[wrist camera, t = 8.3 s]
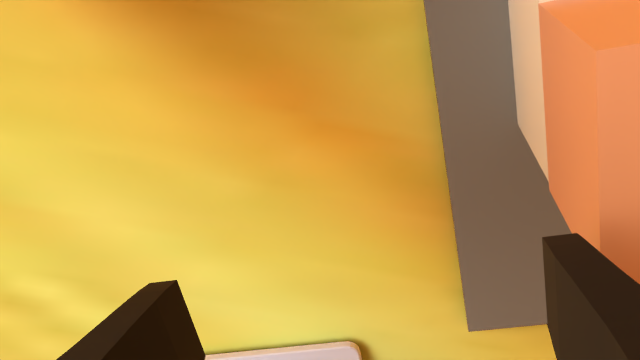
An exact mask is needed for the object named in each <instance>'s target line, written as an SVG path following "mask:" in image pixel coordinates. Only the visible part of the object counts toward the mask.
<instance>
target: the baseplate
mask: <svg viewBox="0 0 640 360" xmlns="http://www.w3.org/2000/svg"><path fill="white" fill-rule="evenodd" d="M424 7H425V14H426V22H427V29H428V36H429V44H430V51H431V59H432V66H433V73H434V81H435V88H436V96H437V103H438V110H439V118H440V125H441V132H442V140H443V147H444V155H445V162H446V169H447V177H448V184H449V192H450V199H451V206H452V214H453V221H454V229H455V236H456V243H457V251H458V258H459V266H460V273H461V280H462V288H463V295H464V303H465V310H466V317H467V325H468V330H469V332H470V331H481V330H491V329H501V328H511V327H521V326H532V325H542V324H547V309H546V293H545V277H544V261H543V246H542V237H547V236H555V235H564V234H572V233H571V231H570V229H569V227H568V225H567V223H566V221H565V219H564V217H563V215H562V214H561V212H560V210H559V208H558V206H557V204H556V202H555V200H554V198H553V196H552V194H551V192H550V190H549V182H548V180H547V178H546V176H545V174H544V172H543V171H542V169H541V167H540V165H539V163H538V161H537V159H536V157H535V156H534V154H533V152H532V150H531V148H530V146H529V144H528V142H527V140H526V139H525V137H524V135H523V133H522V131H521V129H520V127H519V125H518V120H517V108H516V95H515V83H514V70H513V57H512V45H511V32H510V19H509V7H508V0H424Z"/></svg>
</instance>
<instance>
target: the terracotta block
mask: <svg viewBox="0 0 640 360" xmlns="http://www.w3.org/2000/svg"><path fill="white" fill-rule="evenodd" d="M538 9H539V25H540V42H541V59H542V76H543V93H544V110H545V127H546V144H547V161H548V178H549V190H550V192H551V194H552V196H553V198H554V200H555V202H556V204H557V206H558V208H559V210H560V212H561V214H562V215H563V217H564V219H565V221H566V223H567V225H568V227H569V229H570V231H571V233H578V234H579V235H580V236H582V237H583V238H584V239H585V240H587V241H588V242H589V243H590V244H591V245H592V246H594V247H595V248H596V249H597V250H598V251H600V252H601V253H602V254H603V255H604V256H605V257H607V258H608V259H609V260H610V261H611V262H613V263H614V264H615V265H616V266H617V267H619V268H620V269H621V270H622V271H624V272H625V273H626V274H627V275H629V276H630V277H631V278H632V279H634V280H635V281H636V282H637V283H639V284H640V0H554V1H549V2H544V3H538Z"/></svg>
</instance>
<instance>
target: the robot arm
mask: <svg viewBox="0 0 640 360" xmlns="http://www.w3.org/2000/svg"><path fill="white" fill-rule="evenodd" d="M542 246H543V261H544V277H545V293H546V309H547V325H548V328H549V332H550V336H551V340H552V343H553V347H554V351H555V355H556V358H557V360H640V284H639V283H637V282H636V281H635V280H634V279H632V278H631V277H630V276H629V275H627V274H626V273H625V272H624V271H622V270H621V269H620V268H619V267H617V266H616V265H615V264H614V263H613V262H611V261H610V260H609V259H608V258H607V257H605V256H604V255H603V254H602V253H601V252H600V251H598V250H597V249H596V248H595V247H594V246H592V245H591V244H590V243H589V242H588V241H587V240H585V239H584V238H583V237H582V236H580V235H579V234H578V233H572V234H564V235H555V236H547V237H542ZM57 360H362V357H361V352H360V349H359V347H358V345H356V344H355V343H353V342H350V341H344V342H333V343H323V344H313V345H303V346H293V347H283V348H273V349H262V350H252V351H242V352H232V353H222V354H212V355H205V353H204V351H203V348H202V345H201V343H200V340H199V337H198V335H197V332H196V330H195V327H194V324H193V322H192V319H191V316H190V314H189V311H188V308H187V306H186V303H185V301H184V298H183V295H182V293H181V290H180V287H179V285H178V282H177V280H173V281H165V282H156V283H149V284H148V285H146V286H145V287H144V288H142V289H141V290H139V291H138V292H137V293H136V294H134V295H133V296H132V297H131V298H129V299H128V300H127V301H126V302H125V303H123V304H122V305H121V306H120V307H119V308H117V309H116V310H115V311H114V312H113V313H112V314H110V315H109V316H108V317H107V318H106V319H105V320H103V321H102V322H101V323H100V324H99V325H97V326H96V327H95V328H94V329H93V330H92V331H90V332H89V333H88V334H87V335H86V336H85V337H83V338H82V339H81V340H80V341H79V342H77V343H76V344H75V345H74V346H73V347H72V348H70V349H69V350H68V351H67V352H65V353H64V354H63V355H62V356H60V357H59V358H58V359H57Z"/></svg>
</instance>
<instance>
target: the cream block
mask: <svg viewBox="0 0 640 360" xmlns="http://www.w3.org/2000/svg"><path fill="white" fill-rule="evenodd" d="M549 1H554V0H508V7H509V19H510V32H511V45H512V57H513V70H514V83H515V95H516V108H517V120H518V125H519V127H520V129H521V131H522V133H523V135H524V137H525V139H526V140H527V142H528V144H529V146H530V148H531V150H532V152H533V154H534V156H535V157H536V159H537V161H538V163H539V165H540V167H541V169H542V171H543V172H544V174H545V176H546V178H547V180H548V182H549V178H548V161H547V144H546V127H545V110H544V93H543V76H542V59H541V42H540V25H539V9H538V3H544V2H549Z"/></svg>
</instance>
